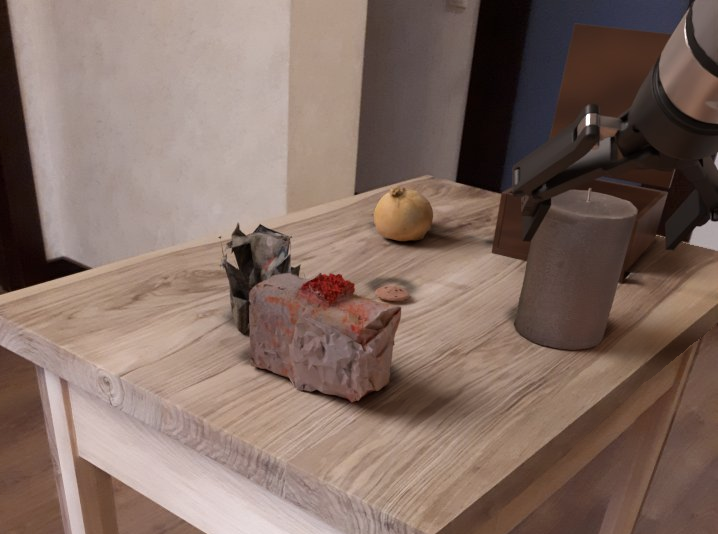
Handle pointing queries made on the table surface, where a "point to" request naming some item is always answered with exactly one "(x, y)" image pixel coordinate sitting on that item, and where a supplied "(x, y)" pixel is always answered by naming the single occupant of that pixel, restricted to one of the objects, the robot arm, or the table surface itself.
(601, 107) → the chest lid
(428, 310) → the table surface
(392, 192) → the onion
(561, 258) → the pillar candle
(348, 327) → the food item
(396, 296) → the cookie
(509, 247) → the chest
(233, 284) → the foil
